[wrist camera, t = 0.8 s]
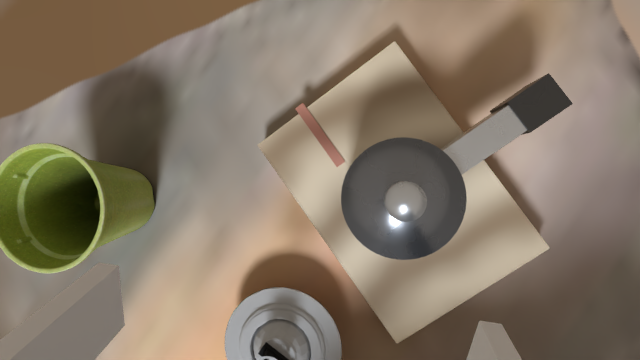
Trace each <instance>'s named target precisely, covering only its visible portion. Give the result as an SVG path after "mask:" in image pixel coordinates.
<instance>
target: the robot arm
mask: <svg viewBox="0 0 640 360" xmlns="http://www.w3.org/2000/svg"><path fill="white" fill-rule="evenodd" d="M124 325H125V324H124V314H123V303H122V293H121V283H120V273H119V266H118V265H112V264H105V263H98V264H96V265H95V266H94V267H93V268H91V269H90V270H89V271H87V272H86V273H85V274H84V275H82V276H81V277H80V278H79V279H77V280H76V281H75V282H73V283H72V284H71V285H70V286H68V287H67V288H66V289H64V290H63V291H62V292H61V293H59V294H58V295H57V296H56V297H54V298H53V299H52V300H50V301H49V302H48V303H47V304H45V305H44V306H43V307H42V308H40V309H39V310H38V311H36V312H35V313H34V314H33V315H31V316H30V317H29V318H28V319H26V320H25V321H24V322H22V323H21V324H20V325H19V326H17V327H16V328H15V329H13V330H12V331H11V332H10V333H8V334H7V335H6V336H5V337H3V338H2V339H1V340H0V360H95V359H96V357H97V356H98V355H99V354H100V353H101V352H102V351H103V349H104V348H105V347H106V346H107V345H108V344H109V343H110V341H111V340H112V339H113V338H114V337H115V336H116V334H117V333H118V332H119V331H120V330H121V329H122V328H123V326H124ZM466 360H522V359H521V357H520V355H519V354H518V352H517V350H516V348H515V347H514V345H513V343H512V341H511V340H510V338H509V336H508V334H507V333H506V331H505V329H504V327H503V325H502V324H499V323H493V322H486V321H480V320H479V323H478V326H477V329H476V332H475V335H474V338H473V341H472V344H471V347H470V350H469V353H468V356H467V359H466Z"/></svg>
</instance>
